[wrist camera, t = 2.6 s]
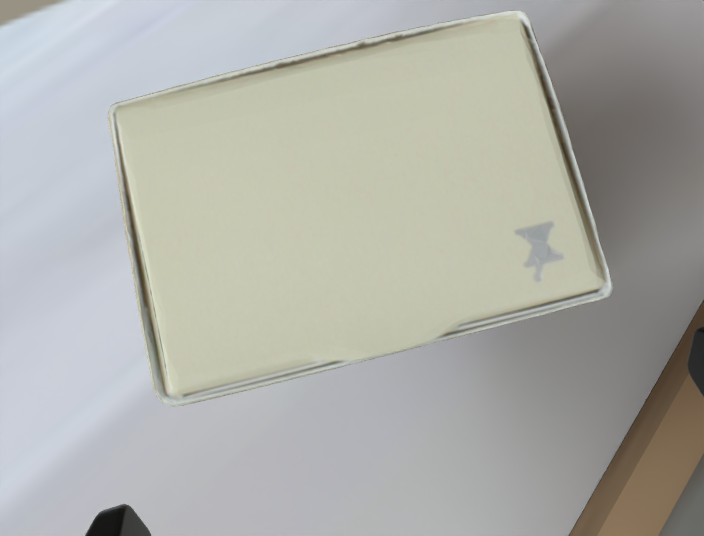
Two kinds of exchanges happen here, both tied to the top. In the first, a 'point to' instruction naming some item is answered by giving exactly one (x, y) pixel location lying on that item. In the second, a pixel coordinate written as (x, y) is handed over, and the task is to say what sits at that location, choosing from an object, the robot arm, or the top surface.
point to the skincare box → (351, 206)
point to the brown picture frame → (656, 462)
